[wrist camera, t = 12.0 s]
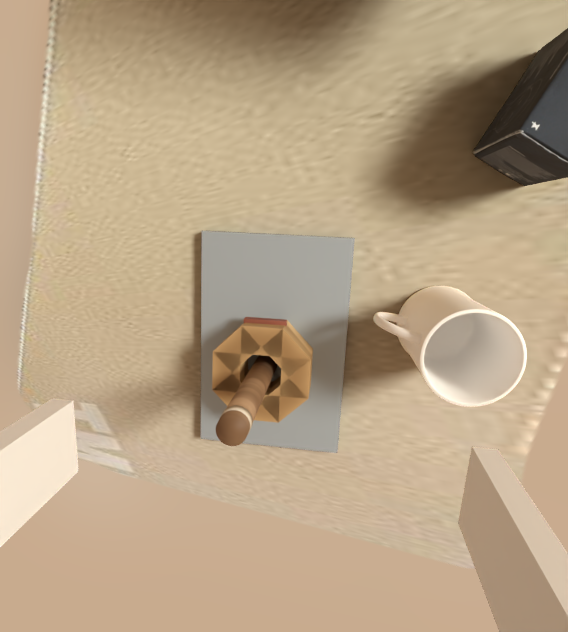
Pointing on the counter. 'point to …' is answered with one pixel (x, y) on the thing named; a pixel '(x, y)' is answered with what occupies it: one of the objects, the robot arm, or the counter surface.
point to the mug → (459, 345)
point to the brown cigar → (246, 402)
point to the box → (533, 121)
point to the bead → (282, 348)
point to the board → (279, 303)
